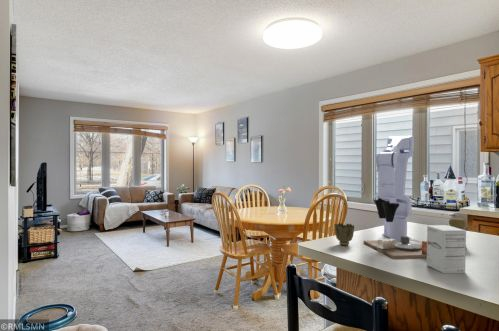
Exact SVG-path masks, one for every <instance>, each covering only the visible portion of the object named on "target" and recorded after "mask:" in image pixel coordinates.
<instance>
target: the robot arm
mask: <svg viewBox="0 0 499 331" xmlns="http://www.w3.org/2000/svg"><path fill="white" fill-rule="evenodd" d="M414 148H415V139H414V136H413V135H407V136H406V135H404V136H401V135H399V136H388V138H387V144H386V146H385V148H384V149H383V150H382V152H378V153H376V157H375V164H376V172H377V194H375V195H374V198H376V199H374V200H373V202H374V204H375V206H376V209H377V214H378V215H377V216H378V218H379V219H383V233H382V234H381V235H383V236H385V237H387V238H388V239H390V238H392V239H401V236H407V237H409V239H413V238H412V237H410V236H408V218H410V217H411V216H412V199H411V198H410V197H409V196H407V195H406V194H405V193H406V181H407V180H406V179H407V169H408V161H409V158H412V157H413V154H414V150H415V149H414Z"/></svg>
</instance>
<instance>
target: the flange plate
mask: <svg viewBox="0 0 499 331" xmlns="http://www.w3.org/2000/svg"><path fill="white" fill-rule="evenodd" d="M377 240H378V247H379V248H381V249H390V248H398V249H404V250H420V249H422V244H420V243H418V242H415V241H410V240H409V243H402V242H401V239H392V238H381V239H380V238H379V239H377Z"/></svg>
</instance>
